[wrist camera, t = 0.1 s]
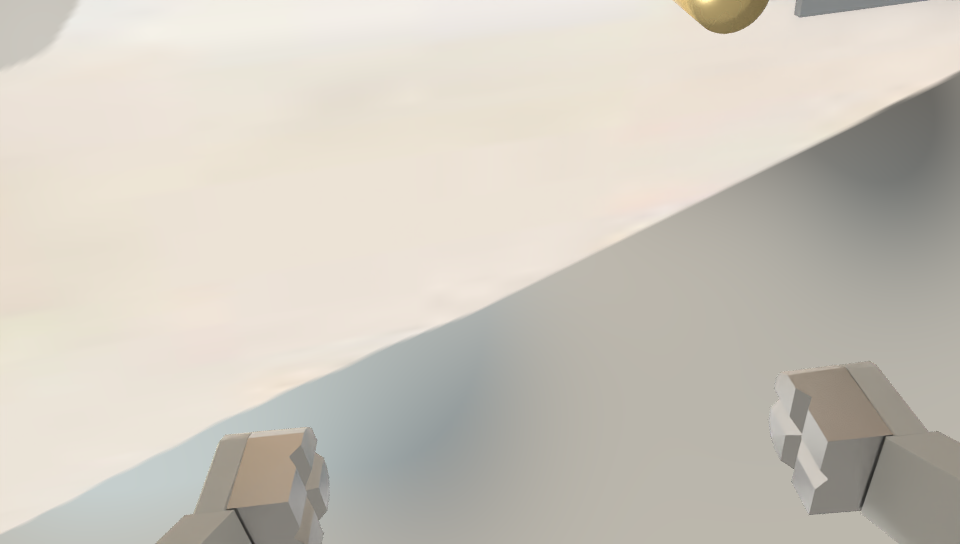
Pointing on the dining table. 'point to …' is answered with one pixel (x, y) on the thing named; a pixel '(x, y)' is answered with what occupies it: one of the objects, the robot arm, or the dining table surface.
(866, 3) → the grey holder tray
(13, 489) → the dining table surface
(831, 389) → the robot arm
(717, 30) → the brushed brass cylinder
